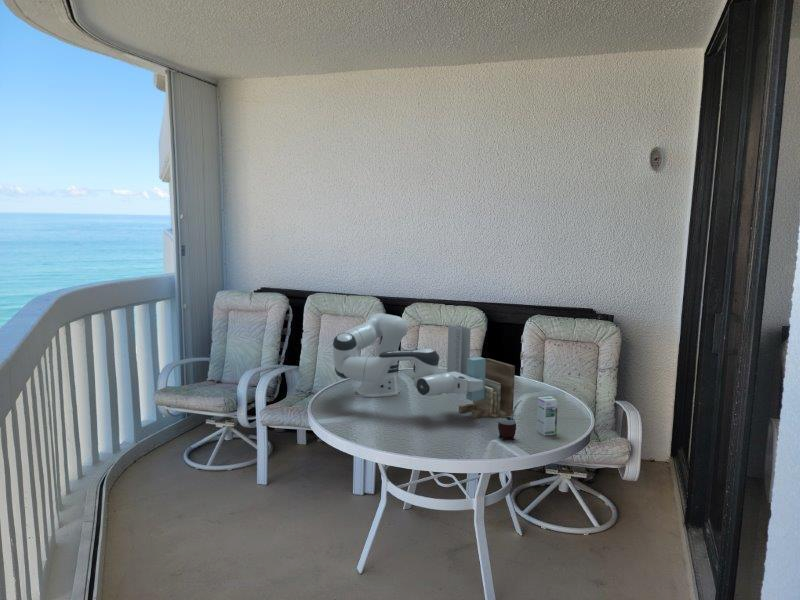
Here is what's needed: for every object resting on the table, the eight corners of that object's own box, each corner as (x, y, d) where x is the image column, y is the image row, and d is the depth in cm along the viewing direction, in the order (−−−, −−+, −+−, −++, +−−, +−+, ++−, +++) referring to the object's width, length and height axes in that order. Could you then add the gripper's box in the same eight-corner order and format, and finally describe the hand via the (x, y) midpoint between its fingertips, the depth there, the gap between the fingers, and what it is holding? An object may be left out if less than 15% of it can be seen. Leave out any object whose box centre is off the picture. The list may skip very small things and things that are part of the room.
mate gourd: (494, 439, 223) (495, 401, 222) (502, 433, 230) (504, 396, 228) (512, 443, 219) (514, 404, 218) (520, 437, 226) (522, 400, 224)
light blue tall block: (471, 401, 251) (473, 360, 248) (466, 398, 254) (467, 358, 252) (484, 398, 254) (485, 358, 252) (478, 396, 258) (479, 357, 256)
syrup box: (543, 436, 228) (545, 400, 226) (536, 431, 234) (537, 396, 232) (556, 435, 230) (558, 399, 228) (548, 430, 235) (550, 395, 234)
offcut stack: (490, 413, 252) (491, 384, 251) (472, 406, 263) (473, 378, 262) (499, 412, 255) (500, 383, 254) (480, 404, 266) (481, 377, 265)
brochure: (446, 378, 319) (448, 325, 316) (455, 377, 321) (457, 324, 318) (459, 384, 306) (461, 328, 303) (468, 383, 309) (470, 328, 306)
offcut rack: (479, 421, 245) (481, 370, 243) (454, 409, 261) (455, 362, 258) (512, 414, 255) (514, 365, 253) (486, 404, 271) (488, 358, 268)
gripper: (438, 383, 255) (462, 380, 263) (466, 395, 238) (492, 390, 245) (438, 370, 255) (463, 366, 262) (467, 380, 237) (492, 376, 245)
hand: (477, 378), depth 253 cm, fingers closed on light blue tall block, 4 cm apart
